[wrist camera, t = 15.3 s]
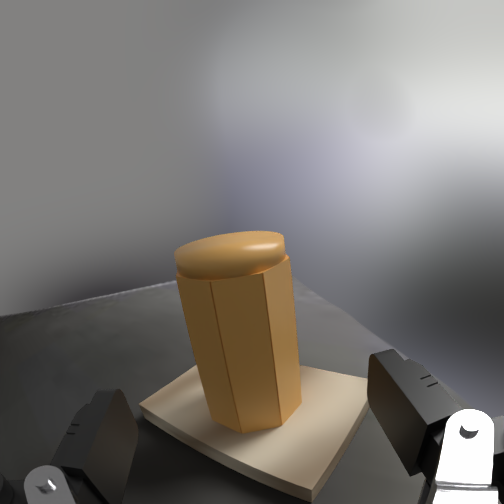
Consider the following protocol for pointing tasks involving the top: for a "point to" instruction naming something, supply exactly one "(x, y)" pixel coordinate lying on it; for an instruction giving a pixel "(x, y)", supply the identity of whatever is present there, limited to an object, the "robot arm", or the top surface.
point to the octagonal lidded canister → (242, 327)
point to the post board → (270, 430)
